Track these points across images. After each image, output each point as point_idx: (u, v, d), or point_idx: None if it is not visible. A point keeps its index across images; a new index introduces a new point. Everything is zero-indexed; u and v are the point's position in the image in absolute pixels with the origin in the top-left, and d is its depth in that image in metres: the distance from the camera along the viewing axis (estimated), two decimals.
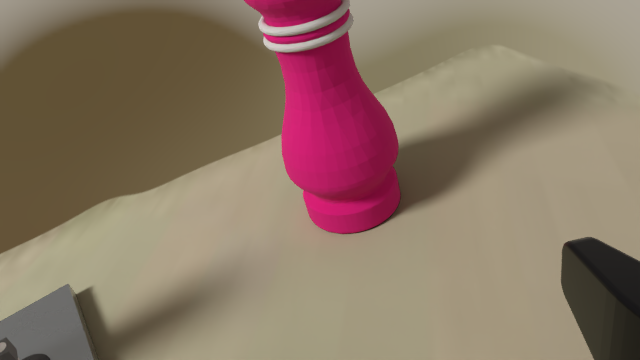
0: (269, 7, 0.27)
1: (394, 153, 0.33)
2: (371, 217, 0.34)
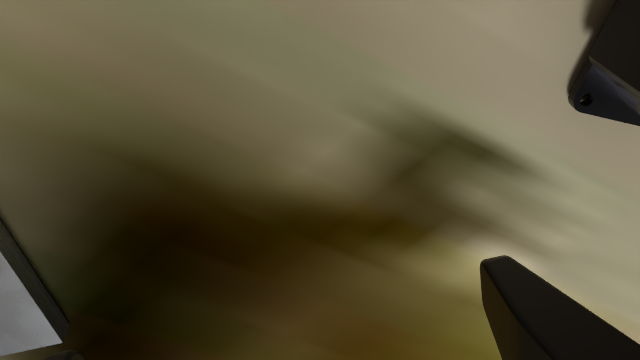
0: None
1: None
2: None
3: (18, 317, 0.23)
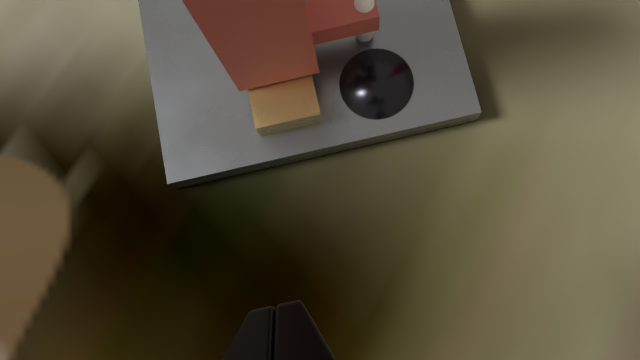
0: None
1: None
2: None
3: (210, 147, 0.21)
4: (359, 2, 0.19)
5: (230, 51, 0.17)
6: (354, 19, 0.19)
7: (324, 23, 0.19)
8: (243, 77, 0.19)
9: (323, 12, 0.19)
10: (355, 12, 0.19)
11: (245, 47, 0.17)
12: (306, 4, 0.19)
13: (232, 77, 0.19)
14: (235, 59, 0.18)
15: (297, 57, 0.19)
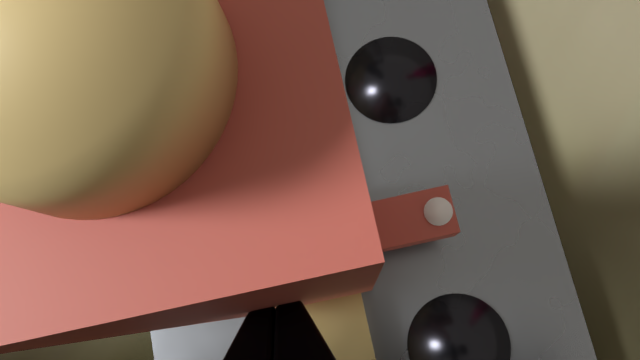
0: None
1: None
2: None
3: None
4: (431, 209, 0.14)
5: None
6: (425, 235, 0.14)
7: (382, 239, 0.14)
8: None
9: (381, 223, 0.14)
10: (426, 224, 0.14)
11: None
12: None
13: None
14: None
15: None
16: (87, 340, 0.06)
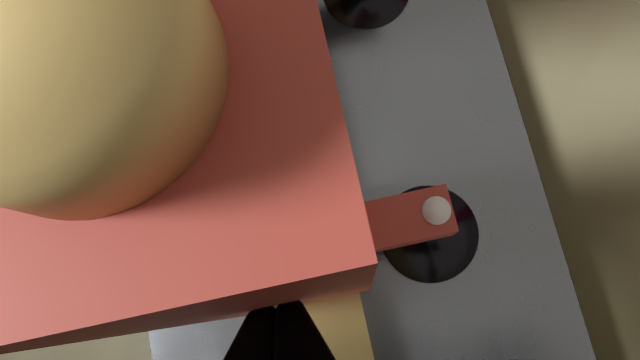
0: None
1: None
2: None
3: None
4: (430, 208, 0.14)
5: None
6: (423, 234, 0.14)
7: (380, 239, 0.14)
8: None
9: (379, 222, 0.14)
10: (424, 223, 0.14)
11: None
12: None
13: None
14: None
15: (344, 294, 0.13)
16: (80, 341, 0.06)
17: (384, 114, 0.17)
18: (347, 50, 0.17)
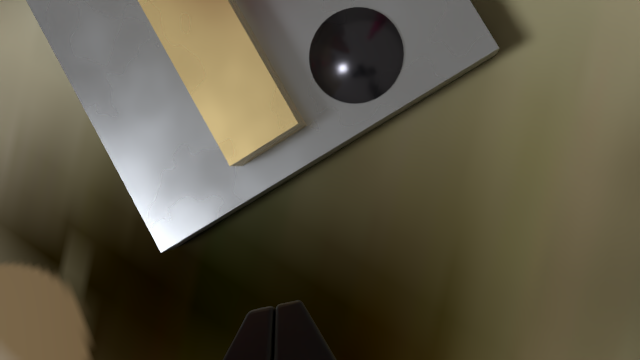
0: None
1: None
2: None
3: (192, 196, 0.18)
4: None
5: None
6: None
7: None
8: None
9: None
10: None
11: None
12: None
13: None
14: None
15: None
16: None
17: None
18: None
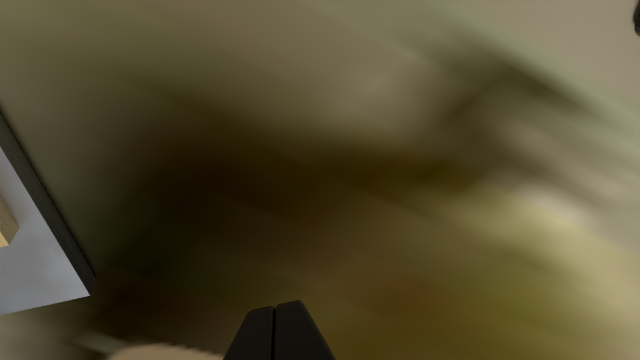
0: None
1: None
2: None
3: (44, 266, 0.22)
4: None
5: None
6: None
7: None
8: None
9: None
10: None
11: None
12: None
13: None
14: None
15: None
16: None
17: None
18: None
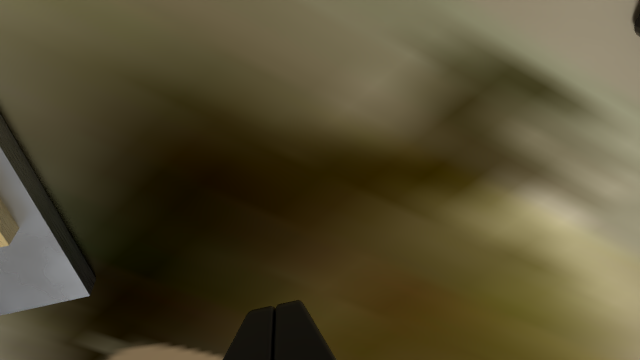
0: None
1: None
2: None
3: (44, 266, 0.22)
4: None
5: None
6: None
7: None
8: None
9: None
10: None
11: None
12: None
13: None
14: None
15: None
16: None
17: None
18: None
